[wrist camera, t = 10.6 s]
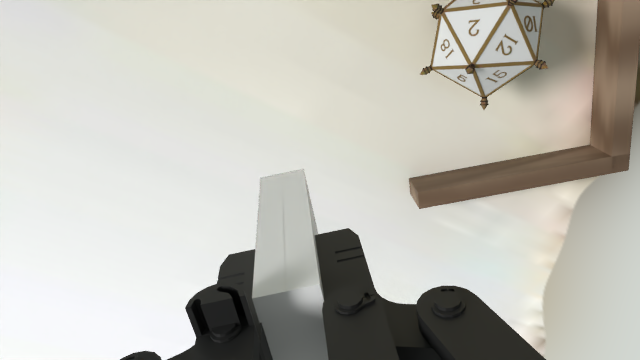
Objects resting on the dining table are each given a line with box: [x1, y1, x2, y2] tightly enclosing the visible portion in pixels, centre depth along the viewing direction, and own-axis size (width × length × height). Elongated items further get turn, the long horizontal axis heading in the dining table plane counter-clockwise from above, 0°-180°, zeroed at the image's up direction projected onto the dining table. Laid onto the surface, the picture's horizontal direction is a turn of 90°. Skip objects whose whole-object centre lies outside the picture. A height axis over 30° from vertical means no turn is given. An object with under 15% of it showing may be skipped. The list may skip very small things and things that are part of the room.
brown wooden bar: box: [409, 0, 640, 209], centre depth 37 cm, size 21×18×3 cm
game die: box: [420, 0, 555, 109], centre depth 34 cm, size 9×8×10 cm
